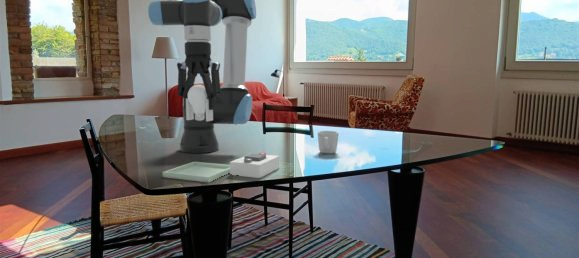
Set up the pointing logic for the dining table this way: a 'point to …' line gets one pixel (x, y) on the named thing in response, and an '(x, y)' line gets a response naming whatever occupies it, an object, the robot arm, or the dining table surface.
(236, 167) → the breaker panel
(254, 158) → the button
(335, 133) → the cup
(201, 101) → the light bulb
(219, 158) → the dining table surface
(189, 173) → the tray
